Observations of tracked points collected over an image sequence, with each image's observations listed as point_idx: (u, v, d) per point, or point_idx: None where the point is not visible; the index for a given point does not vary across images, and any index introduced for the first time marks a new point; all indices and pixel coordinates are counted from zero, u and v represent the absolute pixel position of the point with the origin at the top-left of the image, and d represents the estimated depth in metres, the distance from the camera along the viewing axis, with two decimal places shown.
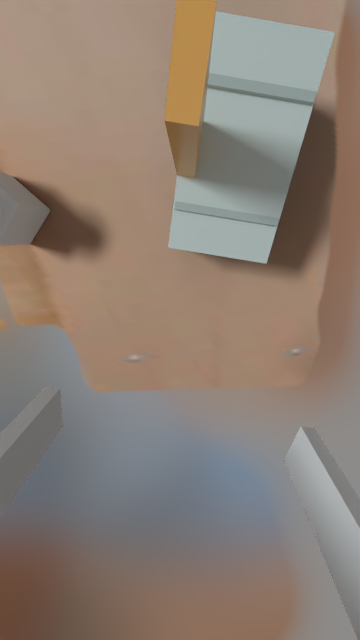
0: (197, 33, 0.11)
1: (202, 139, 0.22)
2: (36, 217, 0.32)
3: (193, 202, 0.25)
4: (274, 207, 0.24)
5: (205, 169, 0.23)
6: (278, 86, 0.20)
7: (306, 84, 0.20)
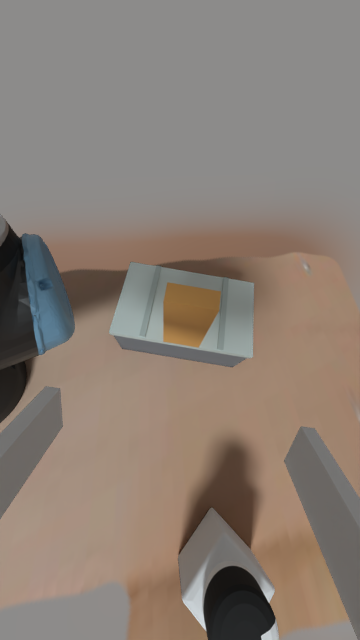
0: (179, 291, 0.19)
1: None
2: (224, 524, 0.28)
3: (216, 335, 0.31)
4: (216, 281, 0.34)
5: None
6: (152, 284, 0.33)
7: (151, 271, 0.34)
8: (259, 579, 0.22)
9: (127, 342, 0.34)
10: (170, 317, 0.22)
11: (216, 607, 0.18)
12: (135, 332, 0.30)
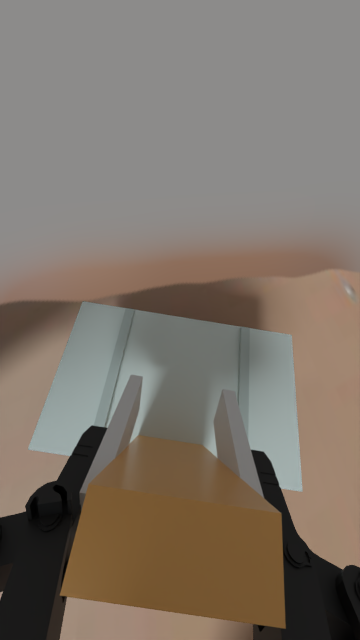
0: (129, 529, 0.05)
1: (157, 435, 0.17)
2: None
3: None
4: (228, 333, 0.20)
5: (191, 428, 0.17)
6: (116, 345, 0.19)
7: (117, 318, 0.20)
8: None
9: None
10: None
11: None
12: None
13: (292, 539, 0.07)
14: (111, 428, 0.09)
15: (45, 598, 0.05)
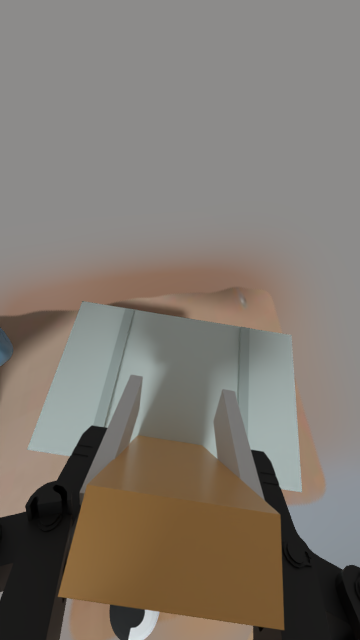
0: (127, 530, 0.05)
1: (157, 435, 0.17)
2: None
3: None
4: (228, 334, 0.20)
5: (191, 429, 0.17)
6: (116, 345, 0.19)
7: (117, 318, 0.20)
8: None
9: None
10: None
11: None
12: None
13: (292, 539, 0.07)
14: (111, 428, 0.09)
15: (45, 598, 0.05)
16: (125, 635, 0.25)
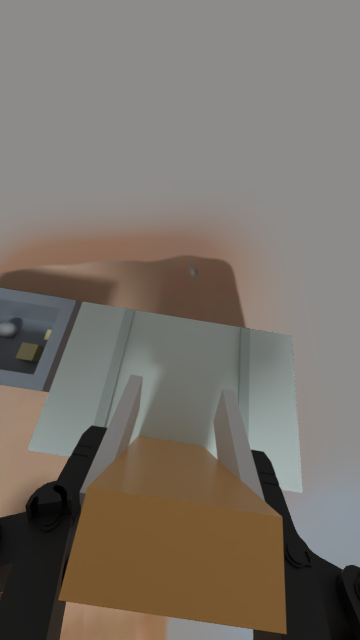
0: (128, 533, 0.05)
1: (157, 436, 0.16)
2: None
3: None
4: (228, 334, 0.20)
5: (191, 429, 0.17)
6: (116, 346, 0.18)
7: (117, 318, 0.20)
8: None
9: None
10: None
11: None
12: None
13: (292, 539, 0.07)
14: (111, 428, 0.09)
15: (45, 598, 0.05)
16: None
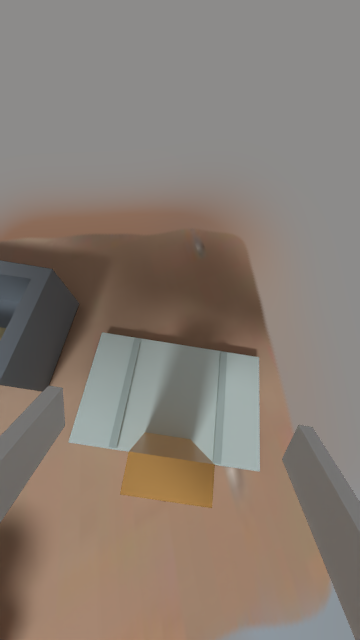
0: (147, 470, 0.12)
1: (158, 432, 0.23)
2: None
3: (211, 439, 0.23)
4: (211, 356, 0.27)
5: (182, 427, 0.24)
6: (128, 367, 0.25)
7: (128, 345, 0.27)
8: None
9: None
10: None
11: None
12: (104, 440, 0.23)
13: None
14: None
15: None
16: None
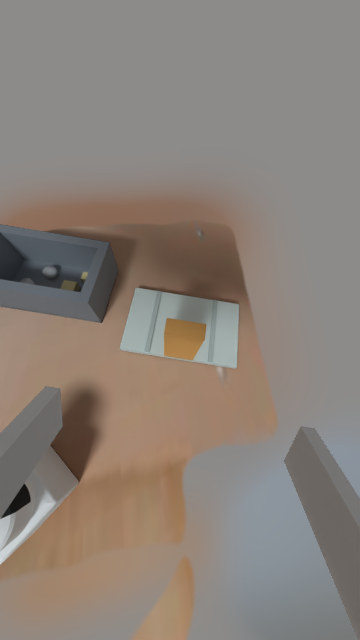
0: (175, 324, 0.26)
1: None
2: (48, 455, 0.29)
3: (207, 350, 0.38)
4: (207, 303, 0.41)
5: None
6: (154, 307, 0.40)
7: (153, 295, 0.41)
8: (42, 493, 0.24)
9: None
10: (169, 341, 0.29)
11: None
12: (141, 348, 0.37)
13: None
14: None
15: None
16: None
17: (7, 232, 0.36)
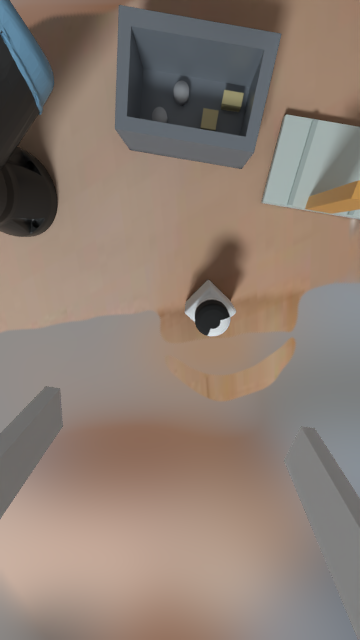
0: None
1: None
2: (214, 286, 0.43)
3: None
4: None
5: None
6: (305, 147, 0.35)
7: (305, 127, 0.34)
8: (228, 307, 0.40)
9: (132, 140, 0.33)
10: (339, 203, 0.31)
11: (199, 310, 0.36)
12: (283, 201, 0.38)
13: None
14: None
15: None
16: (207, 331, 0.37)
17: (141, 26, 0.26)
